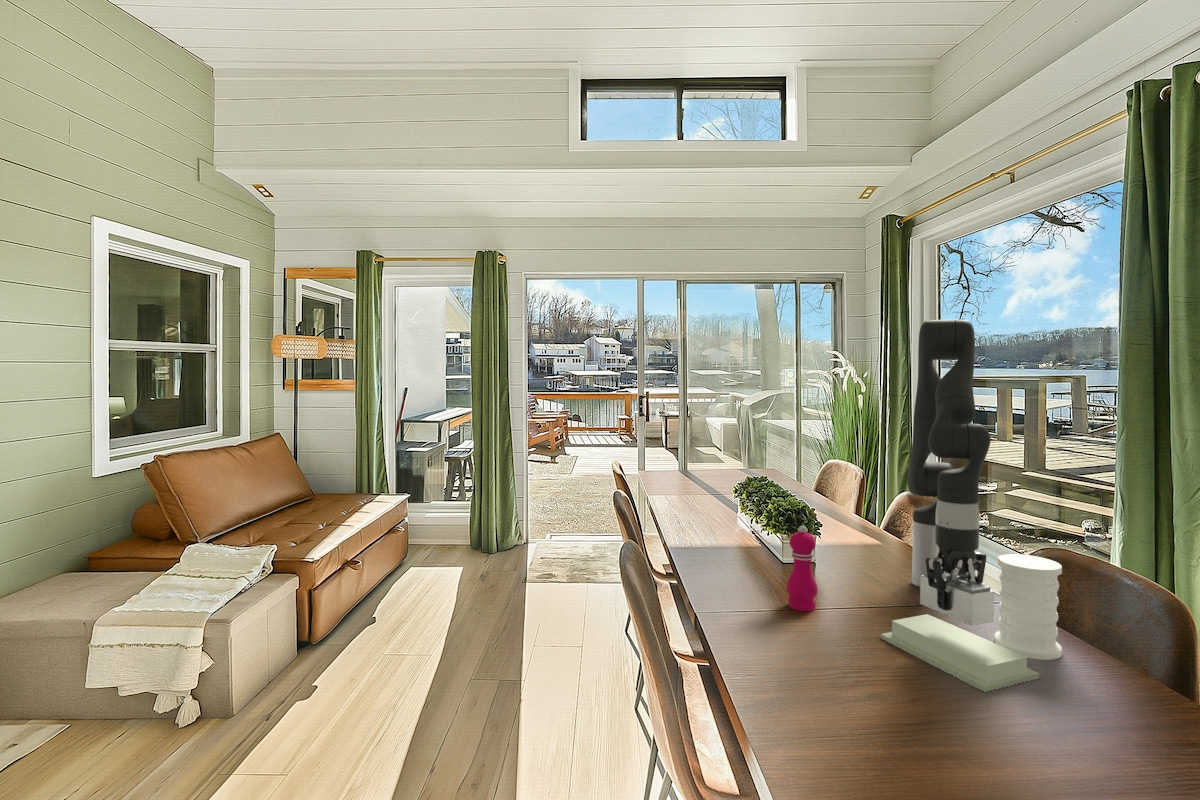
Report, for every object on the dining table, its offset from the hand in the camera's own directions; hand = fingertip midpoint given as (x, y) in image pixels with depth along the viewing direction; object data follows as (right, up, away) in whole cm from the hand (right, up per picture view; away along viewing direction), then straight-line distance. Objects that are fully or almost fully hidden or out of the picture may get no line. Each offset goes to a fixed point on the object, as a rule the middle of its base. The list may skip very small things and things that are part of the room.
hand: (955, 606), depth 123 cm
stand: (0, -10, 0) cm, 10 cm away
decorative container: (+18, -10, +5) cm, 21 cm away
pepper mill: (-22, -9, +28) cm, 36 cm away
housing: (0, -1, 0) cm, 1 cm away
